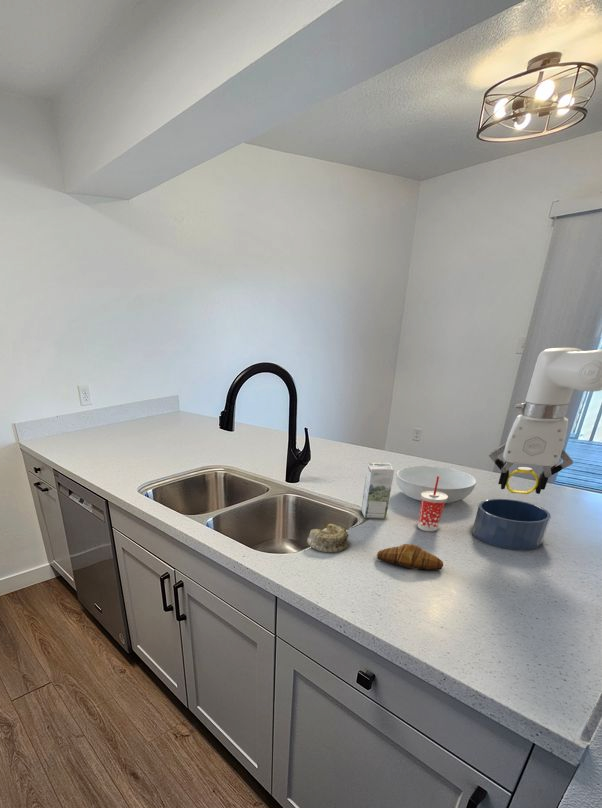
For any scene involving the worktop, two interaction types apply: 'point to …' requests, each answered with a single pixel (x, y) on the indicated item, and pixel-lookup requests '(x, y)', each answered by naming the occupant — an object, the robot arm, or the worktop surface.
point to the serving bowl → (425, 478)
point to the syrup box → (377, 490)
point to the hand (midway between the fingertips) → (519, 489)
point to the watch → (523, 470)
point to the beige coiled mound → (328, 539)
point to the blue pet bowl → (511, 523)
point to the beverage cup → (431, 509)
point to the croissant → (410, 557)
